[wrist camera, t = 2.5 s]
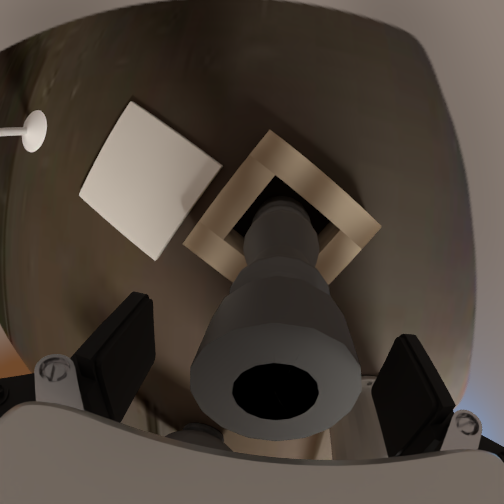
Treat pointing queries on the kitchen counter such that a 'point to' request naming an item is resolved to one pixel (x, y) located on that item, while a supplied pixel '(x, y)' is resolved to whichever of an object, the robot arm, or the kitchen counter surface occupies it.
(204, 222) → the socket block
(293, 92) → the kitchen counter surface
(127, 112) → the ceramic tile
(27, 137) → the champagne flute
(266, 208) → the candle holder
